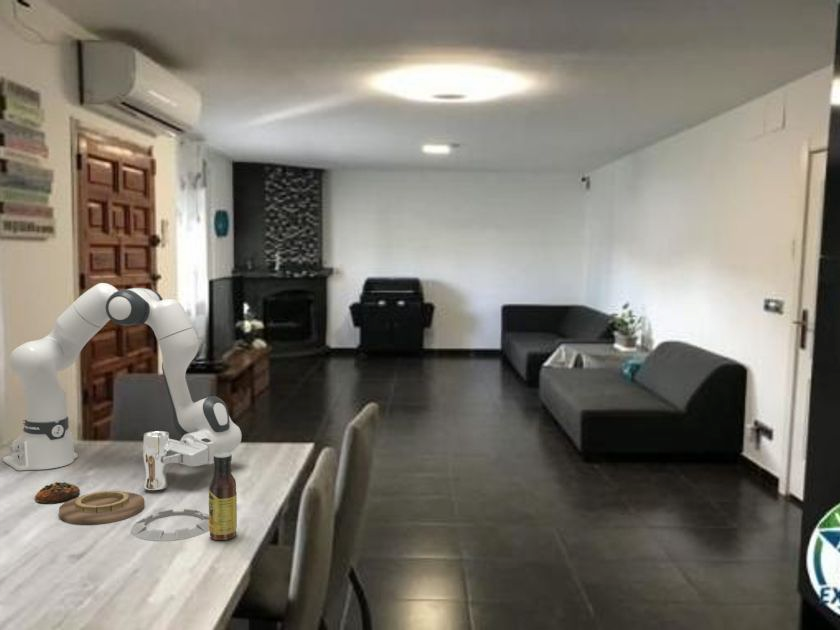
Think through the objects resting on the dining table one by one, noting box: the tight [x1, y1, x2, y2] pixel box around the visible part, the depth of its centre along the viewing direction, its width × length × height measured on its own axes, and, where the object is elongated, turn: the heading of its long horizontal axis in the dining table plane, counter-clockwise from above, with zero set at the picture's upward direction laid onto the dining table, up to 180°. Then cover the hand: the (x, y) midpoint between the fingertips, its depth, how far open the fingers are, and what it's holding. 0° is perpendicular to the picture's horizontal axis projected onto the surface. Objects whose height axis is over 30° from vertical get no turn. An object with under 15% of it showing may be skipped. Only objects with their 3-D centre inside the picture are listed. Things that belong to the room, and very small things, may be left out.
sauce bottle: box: [208, 452, 238, 541], centre depth 166 cm, size 6×6×20 cm
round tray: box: [58, 490, 146, 526], centre depth 182 cm, size 20×20×3 cm
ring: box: [130, 508, 210, 542], centre depth 173 cm, size 19×19×2 cm
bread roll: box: [34, 481, 81, 504], centre depth 192 cm, size 11×11×5 cm
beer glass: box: [142, 430, 170, 491], centre depth 198 cm, size 7×7×15 cm
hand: (153, 458), depth 197 cm, fingers closed on beer glass, 6 cm apart
